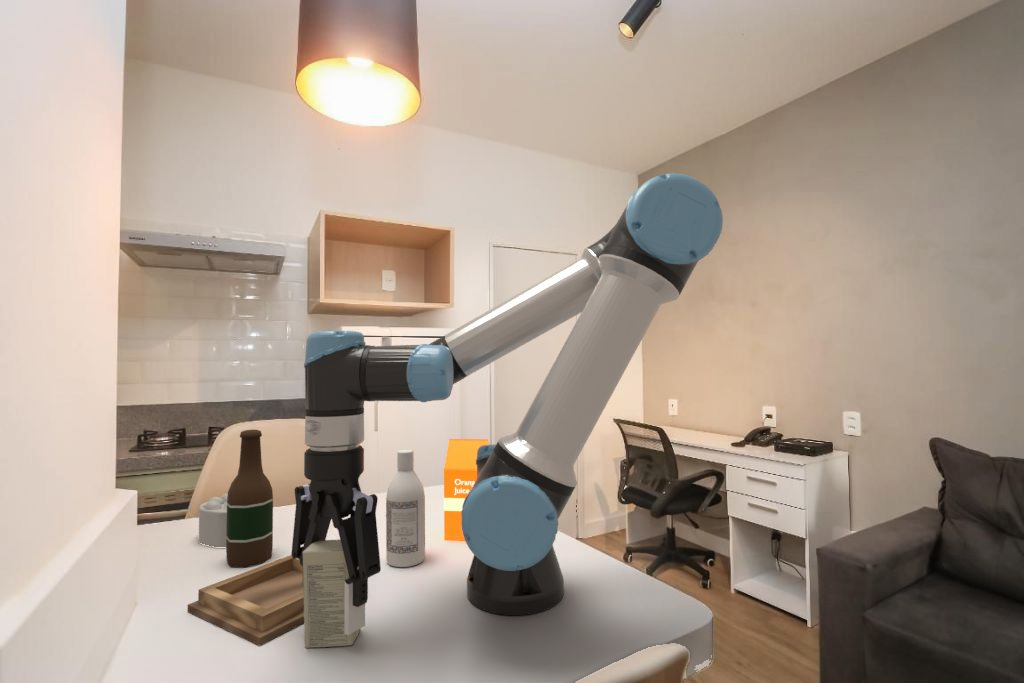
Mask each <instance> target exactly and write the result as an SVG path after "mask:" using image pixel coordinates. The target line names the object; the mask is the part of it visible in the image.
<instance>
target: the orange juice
mask: <svg viewBox="0 0 1024 683" xmlns="http://www.w3.org/2000/svg"><path fill="white" fill-rule="evenodd" d="M447 445H448V446H447V451H446V457H445V463H444V468H443V514H444V515H443V516H444V517H443V519H444V520H443V521H444V524H443V528H444V534H443V535H444V541H450V542H451V541H453V542H454V541H456V542H457V541H458V542H466V541H465V539H464V536H463V532H462V526H461V518H462V516H461V512H462V509H463V508H462V506H463V503H464V500H465V498H466V496H467V495H468V493H469V492H470V491H471V489H472V487H473V485H474V483H475V481H476V479H477V465H476V462H475V461H476V459H477V450H478V448H479V447H480V446H482V445H490V443H489V439H487V438H486V439H485V438H484V439H483V438H482V439H479V438H478V439H475V438H473V439H471V438H470V439H469V438H465V439H464V438H460V439H459V438H449V439H448V444H447Z"/></svg>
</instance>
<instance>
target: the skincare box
mask: <svg viewBox="0 0 1024 683" xmlns="http://www.w3.org/2000/svg"><path fill="white" fill-rule="evenodd" d="M357 569H359V566H358V568H357ZM348 578H349V574H348V569H347V565H346V561H345V557H344V553H343V549H342V545H341V540H340V539H325V540H321V541H316V542H313V543H312V544H311V545H310V546H308V547H307V548H306V549H305V550H304V551H303V587H304V623H303V625H304V626H303V629H304V631H303V632H304V648H305V649H306V648H307V649H309V648H326V647H327V648H329V647H344V646H345V647H346V646H352V645H353V644H354V642H355V640H356V638H357V637H358V635H359V633H360V631H361V629H362V628H360V629H358V630H356V631H355V632H353V633H351V634H350V635H347V634H344V592H345V580H346V579H348Z"/></svg>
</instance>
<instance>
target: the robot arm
mask: <svg viewBox="0 0 1024 683" xmlns="http://www.w3.org/2000/svg"><path fill="white" fill-rule="evenodd" d="M723 220H724V219H723V211H722V208H721V206H720V203H719V201H718V199H717V197H716V194H715V193H714V192H713V191H712V190H711V188H709V187H708V186H707V185H706V184H705V183H704V182H702V181H700V180H699V179H697V178H695V177H694V176H691V175H688V174H683V173H679V172H678V173H675V172H674V173H673V172H671V173H666V174H665V173H664V174H660V175H657V176H654V177H652V178H650V179H648V180H646V181H645V182H644V183H643V184H641V185H640V186H639V187H638V188H637V189H636V190H635V191H633V192H632V194H631V195H630V197H629V199H628V201H627V204H626V207H625V208H624V210H623V212H622V213H621V215H620V217H619V218H618V220H617V222H616V224H615V225H614V226H613V227H612V228H611V229H610V230H609V231H608V232H607V233H606V234H605V235H604V236H602V238H600V239H598V240H597V241H595V242H594V243H593V244H591V245H589V246H587V247H586V248H584V249H583V251H582V255H581V257H580V258H579V259H577V260H575V261H574V262H572V263H570V264H569V265H567V266H565V267H563V268H562V269H560V270H558V271H557V272H555V273H553V274H551V275H549V276H547V277H545V278H544V279H541V280H540V281H539V282H537V283H535V284H533V285H531V286H530V287H528V288H526V289H525V290H523V291H520V292H519V293H517V294H515V295H513V296H512V297H510V298H509V299H506V300H505V301H503V302H501V303H500V304H498V305H496V306H494V307H492V308H490V310H488V311H485V312H484V313H482V314H480V315H479V316H476V317H475V318H473V319H471V320H469V321H468V322H466V323H464V324H462V325H461V326H459V327H457V328H455V329H453V330H452V331H450V332H448V333H446V334H444V336H441V337H439V338H438V339H436V340H434V341H432V342H430V343H427V344H426V343H422V344H409V345H408V344H405V345H403V344H401V345H378V346H377V345H368V344H366V342H365V336H364V334H363V333H362V332H359V331H353V330H319V331H318V330H317V331H314V332H312V333H310V334H309V335H308V336H307V338H306V343H305V344H306V345H305V358H304V359H305V360H304V363H303V368H304V393H305V394H304V397H305V398H304V399H305V401H304V402H305V405H304V406H305V408H304V415H305V418H304V420H305V421H304V445H306V447H309V448H307V449H306V450H305V451H304V457H303V459H304V461H303V462H304V463H303V464H304V465H303V466H304V468H303V474H304V477H305V478H306V479H307V480H310V482H309V483H307V484H303V485H298V486H296V487H295V488H294V497H295V498H294V499H295V513H294V523H293V533H292V534H293V535H292V542H291V543H292V544H291V555H292V557H293V558H294V559H296V558H298V559H299V560H300V564H301V566H303V551H304V550H305V549H306V548H307V547H308V546H310V545H311V544H312V543H313V542H316V541H321V540H327V535H328V531H329V528H330V525H331V521H332V526H333V528H335V529H337V531H338V535H339V536H338V537H339V540H341V545H342V549H343V553H344V557H345V561H346V565H347V569H348V574H349V578H348V579H346V580H345V592H344V634H347V635H350V634H351V633H353V632H355V631H356V630H358V629H360V628H361V629H362V628H363V627H365V626H366V604H367V602H368V597H369V596H368V595H369V593H368V592H369V591H368V590H369V586H368V585H369V578H371V577H373V576H375V575H377V574H379V573H380V572H381V558H380V556H381V555H380V548H379V537H378V536H379V535H378V524H377V514H376V511H377V505H378V496H377V494H376V493H373V494H369V495H368V494H365V493H363V492H362V490H361V486H360V482H359V479H360V477H361V475H362V474H363V472H364V471H365V449H364V447H363V446H362V445H360V444H363V442H364V441H365V408H364V407H365V402H376V401H377V402H421V403H427V402H432V401H433V402H434V401H445V400H447V399H448V398H450V396H451V395H452V390H453V388H454V386H453V385H455V384H456V383H458V382H460V381H462V380H463V379H465V378H466V377H469V376H470V375H472V374H474V373H476V372H477V371H479V370H481V369H483V368H485V367H486V366H488V365H490V364H492V363H493V362H495V361H497V360H498V359H500V358H502V357H505V356H506V355H508V354H510V353H511V352H513V351H515V350H517V349H519V348H520V347H522V346H524V345H525V344H527V343H529V342H531V341H533V340H534V339H537V338H538V337H540V336H541V335H544V334H545V333H547V332H549V331H550V330H552V329H555V328H556V327H558V326H560V325H561V324H563V323H565V322H567V321H569V320H570V319H572V318H574V317H576V316H578V315H579V314H580V315H579V316H578V318H577V320H576V322H575V324H574V326H573V327H572V330H571V331H570V333H569V335H568V336H567V338H566V341H565V342H564V343H563V346H562V347H561V349H560V351H559V353H558V355H557V357H556V358H555V361H554V362H553V363H552V366H551V367H550V369H549V370H548V373H547V375H546V376H545V379H544V380H543V382H542V384H541V386H540V388H539V390H538V391H537V394H536V395H535V397H534V399H533V400H532V402H531V404H530V406H529V408H528V409H527V411H526V413H525V415H524V417H523V419H522V421H521V423H520V424H519V425H518V427H517V430H516V431H515V432H514V433H512V434H510V435H505V436H502V437H500V438H499V439H498V440H497V443H496V444H489V445H482V446H480V447H479V448H478V450H477V459H476V461H475V462H476V465H477V479H476V481H475V483H474V485H473V487H472V489H471V491H470V492H469V493H468V495H467V496H466V498H465V500H464V503H463V506H462V508H463V509H462V512H461V516H462V518H461V526H462V532H463V536H464V539H465V541H464V542H465V543H466V545H467V547H468V549H469V550H470V552H472V554H473V556H472V557H473V558H472V561H471V563H470V564H471V565H470V568H469V571H468V574H467V578H466V596H467V599H468V600H469V602H470V603H471V604H472V605H473V606H474V607H476V608H478V609H480V610H482V611H485V612H488V613H491V614H495V615H505V616H525V615H532V614H537V613H541V612H543V611H544V612H545V611H546V610H549V609H551V608H553V607H554V606H556V605H557V604H559V603H560V601H562V599H563V597H564V596H565V595H564V594H565V592H564V590H565V589H564V588H565V586H564V585H565V584H564V576H563V572H562V569H561V566H560V563H559V560H558V556H557V555H556V551H555V548H554V543H555V541H556V536H557V533H558V531H559V530H558V527H559V518H560V516H561V515H562V513H563V511H564V509H565V507H566V505H567V504H568V502H569V500H570V498H571V496H572V494H573V492H574V490H575V488H576V487H577V485H578V481H577V477H576V473H575V470H574V469H575V468H574V465H575V463H576V462H577V460H578V458H579V456H580V454H581V453H582V450H583V449H584V447H585V446H586V443H587V441H588V440H589V437H590V436H591V434H592V432H593V430H594V429H595V427H596V424H597V423H598V421H599V419H600V417H601V416H602V414H603V412H604V410H605V408H606V406H607V404H608V403H609V401H610V399H611V397H612V395H613V393H614V391H615V390H616V387H617V386H618V385H619V382H620V381H621V379H622V377H623V375H624V373H625V371H626V369H627V368H628V366H629V364H630V362H631V360H632V358H633V357H634V354H635V353H636V351H637V349H638V347H639V346H640V344H641V342H642V341H643V339H644V337H645V334H646V333H647V331H648V329H649V327H650V325H651V323H652V322H653V320H654V318H655V316H656V315H657V312H658V311H659V308H660V307H661V306H662V305H663V304H667V303H670V302H673V301H677V300H678V299H679V297H680V295H681V294H682V292H683V289H684V288H685V286H686V284H687V282H688V281H689V279H690V277H691V275H692V273H693V271H694V269H695V267H696V266H697V264H698V263H699V261H700V260H702V259H703V258H705V257H707V255H709V253H710V252H712V250H713V249H714V248H715V246H716V244H717V243H718V240H719V238H721V237H720V236H721V234H722V231H723V223H724V222H723ZM302 545H303V546H302ZM358 566H359V569H357V568H358ZM303 588H304V587H303ZM361 629H360V630H361Z"/></svg>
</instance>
